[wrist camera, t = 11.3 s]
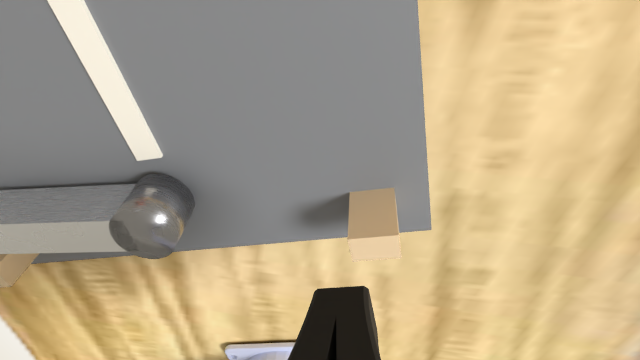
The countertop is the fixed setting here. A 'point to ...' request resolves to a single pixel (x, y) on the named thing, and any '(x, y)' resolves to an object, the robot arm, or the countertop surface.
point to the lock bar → (97, 218)
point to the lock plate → (223, 114)
